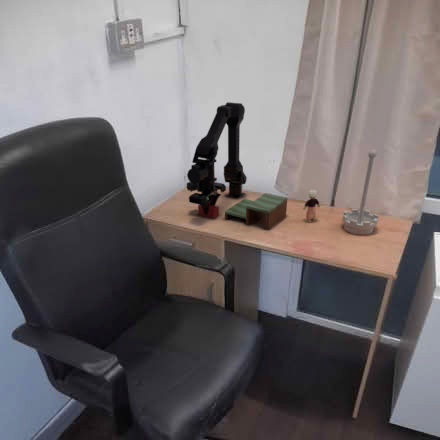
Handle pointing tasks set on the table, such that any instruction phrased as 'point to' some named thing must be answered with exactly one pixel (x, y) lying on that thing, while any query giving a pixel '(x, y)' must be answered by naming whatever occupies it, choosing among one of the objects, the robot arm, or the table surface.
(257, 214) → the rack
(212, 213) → the red rectangular block
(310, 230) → the table surface
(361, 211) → the flag stand
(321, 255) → the table surface
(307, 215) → the grandmother figurine
